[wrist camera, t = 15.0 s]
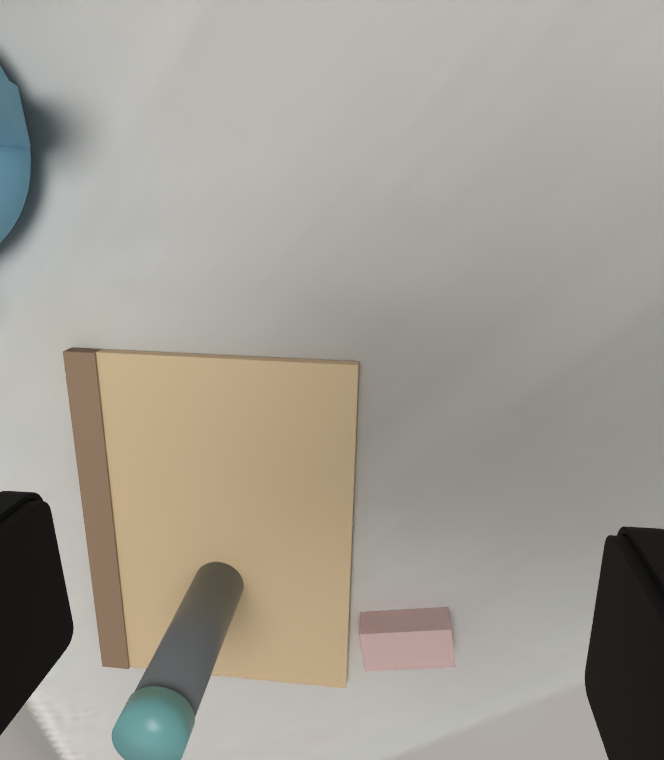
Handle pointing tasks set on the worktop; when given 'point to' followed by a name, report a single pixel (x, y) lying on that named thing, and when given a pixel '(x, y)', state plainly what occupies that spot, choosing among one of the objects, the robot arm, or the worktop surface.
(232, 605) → the marker
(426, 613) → the eraser
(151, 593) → the notepad
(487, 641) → the worktop surface
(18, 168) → the teapot
